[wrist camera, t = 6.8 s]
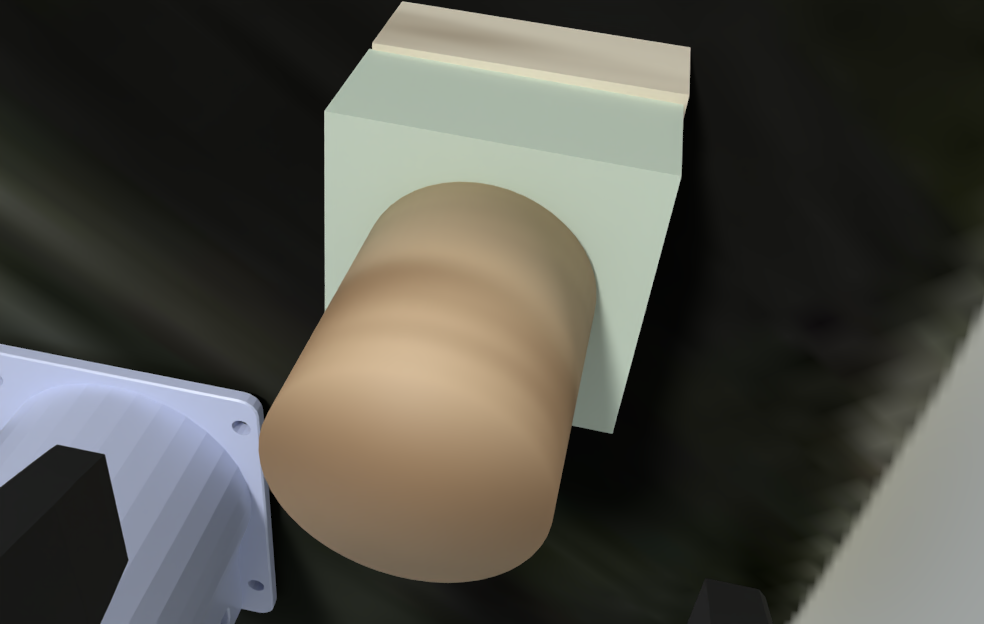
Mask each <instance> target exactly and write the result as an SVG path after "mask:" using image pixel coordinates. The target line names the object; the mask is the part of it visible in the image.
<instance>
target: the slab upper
mask: <svg viewBox="0 0 984 624" xmlns="http://www.w3.org/2000/svg"><path fill="white" fill-rule="evenodd" d="M683 110H684V105H683V104H677V103H671V102H666V101H660V100H654V99H649V98H643V97H638V96H632V95H626V94H621V93H615V92H609V91H604V90H598V89H592V88H587V87H581V86H575V85H570V84H564V83H558V82H553V81H547V80H541V79H536V78H530V77H524V76H519V75H513V74H507V73H502V72H496V71H490V70H485V69H479V68H473V67H468V66H462V65H456V64H451V63H445V62H439V61H434V60H428V59H423V58H417V57H411V56H406V55H400V54H394V53H389V52H383V51H377V50H372V49H369V50H368V51H367V53H366V54H365V56H364V57H363V58H362V60H361V61H360V62H359V64H358V65H357V67H356V68H355V69H354V71H353V72H352V74H351V75H350V76H349V78H348V79H347V81H346V82H345V83H344V85H343V86H342V87H341V89H340V90H339V92H338V93H337V94H336V96H335V97H334V99H333V100H332V101H331V103H330V104H329V106H328V107H327V108H326V110H325V111H324V119H325V311H326V309H327V307H328V305H329V304H330V302H331V300H332V298H333V297H334V295H335V293H336V291H337V290H338V288H339V286H340V284H341V282H342V281H343V279H344V277H345V275H346V274H347V272H348V270H349V268H350V267H351V265H352V263H353V261H354V259H355V258H356V256H357V254H358V252H359V251H360V249H361V247H362V245H363V243H364V242H365V240H366V238H367V236H368V235H369V233H370V231H371V229H372V228H373V226H374V224H375V223H376V221H377V220H378V219H379V217H380V216H381V215H382V214H383V213H384V212H385V211H386V210H387V209H388V208H389V207H390V206H391V205H392V204H393V203H395V202H396V201H397V200H399V199H400V198H402V197H403V196H405V195H407V194H409V193H411V192H413V191H415V190H418V189H421V188H424V187H427V186H431V185H436V184H440V183H448V182H476V183H483V184H489V185H494V186H498V187H501V188H505V189H508V190H511V191H513V192H516V193H518V194H521V195H523V196H525V197H527V198H529V199H531V200H533V201H535V202H536V203H538V204H540V205H541V206H543V207H544V208H546V209H547V210H549V211H550V212H551V213H553V214H554V215H555V216H556V217H557V218H558V219H560V220H561V221H562V222H563V223H564V224H565V225H566V226H567V227H568V228H569V229H570V231H571V232H572V233H573V234H574V235H575V236H576V238H577V239H578V241H579V242H580V244H581V245H582V247H583V248H584V250H585V252H586V254H587V256H588V258H589V260H590V263H591V266H592V269H593V272H594V276H595V282H596V306H595V313H594V318H593V323H592V328H591V332H590V337H589V342H588V347H587V352H586V357H585V362H584V367H583V372H582V377H581V382H580V387H579V392H578V397H577V402H576V407H575V412H574V417H573V422H572V426H576V427H581V428H586V429H591V430H596V431H601V432H606V433H611V434H613V430H614V426H615V422H616V419H617V415H618V411H619V407H620V404H621V400H622V396H623V393H624V389H625V385H626V381H627V378H628V374H629V370H630V366H631V363H632V359H633V355H634V351H635V348H636V344H637V340H638V337H639V333H640V329H641V325H642V322H643V318H644V314H645V310H646V307H647V303H648V299H649V296H650V292H651V288H652V284H653V281H654V277H655V273H656V269H657V266H658V262H659V258H660V255H661V251H662V247H663V243H664V240H665V236H666V232H667V228H668V225H669V221H670V217H671V214H672V210H673V206H674V202H675V199H676V195H677V191H678V187H679V184H680V180H681V176H682V144H683Z"/></svg>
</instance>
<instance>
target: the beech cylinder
mask: <svg viewBox="0 0 984 624" xmlns="http://www.w3.org/2000/svg"><path fill="white" fill-rule="evenodd" d="M595 306H596V282H595V276H594V272H593V269H592V266H591V263H590V260H589V258H588V256H587V254H586V252H585V250H584V248H583V247H582V245H581V244H580V242H579V241H578V239H577V238H576V236H575V235H574V234H573V233H572V232H571V231H570V229H569V228H568V227H567V226H566V225H565V224H564V223H563V222H562V221H561V220H560V219H558V218H557V217H556V216H555V215H554V214H553V213H551V212H550V211H549V210H547V209H546V208H544V207H543V206H541V205H540V204H538V203H536V202H535V201H533V200H531V199H529V198H527V197H525V196H523V195H521V194H518V193H516V192H513V191H511V190H508V189H505V188H501V187H498V186H494V185H489V184H483V183H476V182H448V183H440V184H436V185H431V186H427V187H424V188H421V189H418V190H415V191H413V192H411V193H409V194H407V195H405V196H403V197H402V198H400V199H399V200H397V201H396V202H395V203H393V204H392V205H391V206H390V207H389V208H388V209H387V210H386V211H385V212H384V213H383V214H382V215H381V216H380V217H379V219H378V220H377V221H376V223H375V224H374V226H373V228H372V229H371V231H370V233H369V235H368V236H367V238H366V240H365V242H364V243H363V245H362V247H361V249H360V251H359V252H358V254H357V256H356V258H355V259H354V261H353V263H352V265H351V267H350V268H349V270H348V272H347V274H346V275H345V277H344V279H343V281H342V282H341V284H340V286H339V288H338V290H337V291H336V293H335V295H334V297H333V298H332V300H331V302H330V304H329V305H328V307H327V309H326V311H325V313H324V314H323V316H322V318H321V320H320V321H319V323H318V325H317V327H316V328H315V330H314V332H313V334H312V336H311V337H310V339H309V341H308V343H307V344H306V346H305V348H304V350H303V352H302V353H301V355H300V357H299V359H298V360H297V362H296V364H295V366H294V367H293V369H292V371H291V373H290V375H289V376H288V378H287V380H286V382H285V383H284V385H283V387H282V389H281V390H280V392H279V394H278V396H277V398H276V399H275V401H274V403H273V405H272V406H271V408H270V410H269V412H268V413H267V416H266V418H265V420H264V422H263V424H262V427H261V431H260V435H259V449H258V451H259V458H260V465H261V468H262V471H263V474H264V477H265V479H266V481H267V483H268V485H269V487H270V490H271V491H272V493H273V494H274V496H275V497H276V499H277V500H278V502H279V503H280V505H281V506H282V507H283V508H284V509H285V511H286V512H287V513H288V514H289V516H290V517H292V518H293V519H294V520H295V521H296V522H297V523H298V524H299V525H300V526H301V527H302V528H303V529H304V530H305V531H307V532H308V533H309V534H310V535H312V536H313V537H314V538H315V539H317V540H318V541H320V542H321V543H323V544H324V545H326V546H327V547H329V548H330V549H332V550H334V551H336V552H337V553H339V554H341V555H343V556H344V557H346V558H349V559H351V560H353V561H355V562H357V563H359V564H361V565H364V566H367V567H369V568H372V569H374V570H377V571H380V572H384V573H387V574H390V575H394V576H398V577H403V578H407V579H412V580H419V581H427V582H441V583H455V582H468V581H476V580H482V579H486V578H490V577H494V576H497V575H499V574H502V573H505V572H507V571H509V570H511V569H513V568H515V567H517V566H519V565H521V564H522V563H523V562H525V561H526V560H527V559H529V558H530V557H531V556H532V555H533V554H534V553H535V552H536V551H537V550H538V549H539V548H540V547H541V545H542V543H543V542H544V540H545V539H546V537H547V535H548V533H549V530H550V527H551V525H552V521H553V516H554V511H555V506H556V501H557V496H558V491H559V486H560V481H561V476H562V471H563V466H564V461H565V456H566V451H567V446H568V441H569V436H570V431H571V427H572V422H573V417H574V412H575V407H576V402H577V397H578V392H579V387H580V382H581V377H582V372H583V367H584V362H585V357H586V352H587V347H588V342H589V337H590V332H591V328H592V323H593V318H594V313H595Z"/></svg>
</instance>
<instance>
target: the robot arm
mask: <svg viewBox="0 0 984 624" xmlns="http://www.w3.org/2000/svg"><path fill="white" fill-rule="evenodd" d="M241 421H242V422H245V423H246V424H244V423H242V422H241ZM263 422H264V414H263V407H262V404H261V403H260V401H259V400H258V399H257V398H256V397H254V396H253V395H251V394H249V393H246V392H242V391H237V390H232V389H227V388H221V387H216V386H211V385H206V384H201V383H196V382H191V381H186V380H181V379H176V378H171V377H166V376H161V375H155V374H150V373H145V372H140V371H135V370H130V369H125V368H120V367H115V366H110V365H105V364H100V363H95V362H90V361H84V360H79V359H74V358H69V357H64V356H59V355H54V354H49V353H44V352H39V351H34V350H29V349H24V348H19V347H13V346H8V345H3V344H0V624H235V621H236V619H237V617H238V615H239V613H240V610H241V609H245V610H250V611H254V612H260V613H266V612H270V611H271V610H273V607H274V605H275V603H276V599H277V594H276V580H275V566H274V552H273V538H272V525H271V511H270V497H269V485H268V483H267V481H266V479H265V477H264V474H263V471H262V468H261V465H260V458H259V451H258V449H259V435H260V431H261V427H262V424H263ZM247 424H248V425H247ZM687 624H773V622H772V619H771V615H770V612H769V608H768V605H767V601H766V597H765V596H764V595H763V594H762V592H761V591H760V590H759V589H755V588H750V587H745V586H741V585H736V584H731V583H726V582H721V581H716V580H712V579H707V578H705V580H704V583H703V585H702V588H701V590H700V593H699V595H698V598H697V600H696V603H695V605H694V608H693V610H692V613H691V615H690V618H689V620H688V623H687Z"/></svg>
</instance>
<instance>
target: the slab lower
mask: <svg viewBox="0 0 984 624" xmlns="http://www.w3.org/2000/svg"><path fill="white" fill-rule="evenodd" d="M372 50H377V51H383V52H389V53H394V54H400V55H406V56H411V57H417V58H423V59H428V60H434V61H439V62H445V63H451V64H456V65H462V66H468V67H473V68H479V69H485V70H490V71H496V72H502V73H507V74H513V75H519V76H524V77H530V78H536V79H541V80H547V81H553V82H558V83H564V84H570V85H575V86H581V87H587V88H592V89H598V90H604V91H609V92H615V93H621V94H626V95H632V96H638V97H643V98H649V99H654V100H660V101H666V102H671V103H677V104H683V105H684V110H683V119H684V115H685V111H686V107H687V103H688V99H689V93H690V47H684V46H677V45H671V44H665V43H659V42H652V41H646V40H640V39H634V38H627V37H621V36H615V35H609V34H603V33H596V32H590V31H584V30H578V29H571V28H565V27H559V26H553V25H546V24H540V23H534V22H528V21H521V20H515V19H509V18H503V17H497V16H490V15H484V14H478V13H472V12H465V11H459V10H453V9H447V8H440V7H434V6H428V5H422V4H415V3H409V2H403V1H402V2H401V4H400V5H399V7H398V8H397V9H396V11H395V12H394V14H393V15H392V16H391V18H390V19H389V21H388V22H387V23H386V25H385V26H384V27H383V29H382V30H381V32H380V33H379V34H378V36H377V37H376V39H375V40H374V41H373V43H372Z"/></svg>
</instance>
